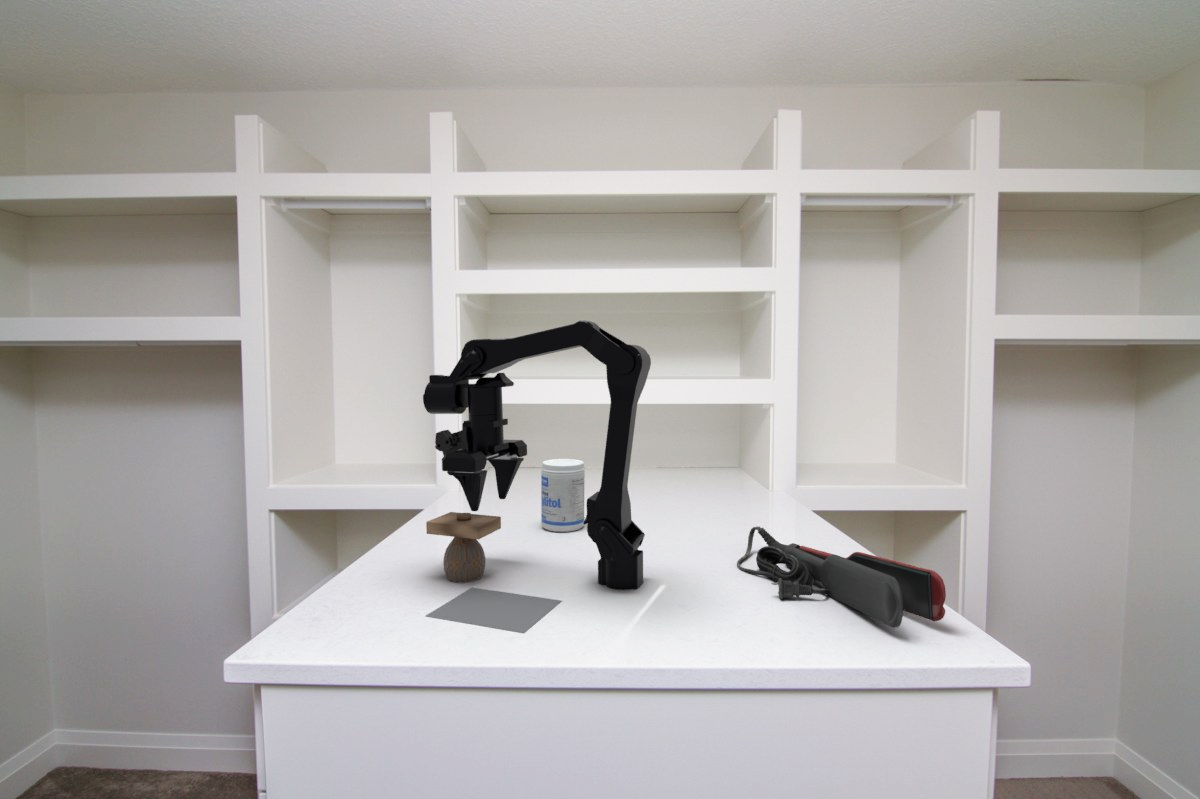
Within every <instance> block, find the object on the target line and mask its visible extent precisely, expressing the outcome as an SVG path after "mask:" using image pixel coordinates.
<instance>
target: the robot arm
mask: <svg viewBox="0 0 1200 799" xmlns="http://www.w3.org/2000/svg"><path fill="white" fill-rule="evenodd" d="M577 348H584V350H586V351H587V352H588V353H589V354H590V355H592V356H593V358H595V359H596V360H598V361H599V362H600V363H602V364H603V365H605V366H606V367H605V368H606V370H605V371H606V383H607V388H608V392H609V398H610V406H609V415H608V423H607V433H606V439H605V440H606V441H605V450H604V456H603V466H602V474H601V481H600V482H601V483H600V484H601V485H600V488H599V491H596V492H595V493H593V494H592V495H591V496H589V497H588V498H587V499H586V517H585V518H584V525H587V526H586V531H587V535H588V537H589V538H590V539H591V541H592V542H593V543H595V545H596V548H597V550H598V553H599V556H600V559H598V560H597V584H599V585H601V586H605V587H607V588H609V589H611V590H615V591H616V590H618V591H627V590H628V591H629V590H638V589H640V587H641V586H642V585H643V584H644V550H639V548H640V547H641V546H642V545H643V542H644V538H645V535H646V534H645V533H644V531H643V530H642V529H641V528H640V527H639V526H638V525H637V524H636V523H635V522H634V521H633V520H632V509H631V508H632V505H631V504H632V503H631V499H630V494H629V489H628V482H629V474H630V467H631V461H632V460H631V458H632V450H633V442H634V434H635V428H636V427H635V426H636V420H637V419H636V418H637V408H638V404H639V403H638V402H639V400H640V397H641V394H642V393H643V391H644V388H645V385H646V382H647V379H648V377H649V372H650V369H651V365H652V362H651V361H652V360H651V355H650V354H649V353H648V351H647V350H646V349H645V348H644V347H642V346H640V345H637V344H629V343H628V344H627V343H626V342H624V341H623V340H622V339H620V338H617V337H616V336H614V335H613V334H611V333H610V332H608V331H606V330H605V329H603V328H601V327H600V326H599V325H598V324H597V323H595V322H594V321H590V320H579V321H577V322H575V323H572V324H568V325H563V326H559V327H558V326H557V327H555V328H554V327H553V328H551V329H545V330H542V331H537V332H532V333H530V334H524V335H521V336H516V337H512V338H509V337H508V338H482V339H478V338H477V339H471V340H469V341H467V342H466V343H465V344H464V346H463V348H462V350H461V354H460V355H461V356H460V358H459V360H458V361H457V363H456V365H455V366H454V368H453V369H452V371H451V373H450V374H449V375H444V374H431V375H429V376H428V378H429V379H428V380H429V382H428V383H427V384H426V386H425V389H424V393H423V395H422V401H423V402H422V403H423V406H424V408H425V410H426V412H427V413H428V414H430V415H431V414H432V415H433V414H434V415H435V414H436V415H450V414H451V415H456V414H459V415H461V414H463V413H465V411H467V408H468V420H467V419H466V420H463V422H462V424H461V425H462V429H461V430H459V431H456V432H453V433H452V432H451V431H450V430H449V429H445V430H441V431H438V432H436V433H435V441H434V443H435V449H436V450H437V451H439V452H442V458H441V471H442V472H446V473H447V474H448V476H453V477H454V478H455V479H456V480H457V481H458V482H459V484H460V486H461V487H462V490H463V493H464V495H465V498H466V500H467V503H468V505H469V508H470V511H472V512H478V511H479V508H480V505H481V501H482V497H483V492H484V488H485V483H486V478H487V474H488V470H486V469H485V468H486V466H487V463H488V462H489V463H490V464H491V466H492V467H493V468H494V470H495V480H496V481H495V482H496V488H497V494H498V499H500V500H505V499H506V498H507V496H508V494H509V491H510V488H511V486H512V483H513V481H514V479H515V476H516V475H517V472H518V470H519V468H520V466H521V465H522V462H524V457H527V455H528V445H527V443H526V442H525V441H524V440H523V439H504V426H507V425H508V422H509V419H508V418H504V416H503V413H504V412H503V410H504V409H503V389H502V388H507V387H508V388H509V387H513V386H514V385H515V382H514V381H512V380H511V379H510V378H508V376H507V375H506V374H505V372H501V371H503V370H505V369H508V368H510V367H512V366H514V365H516V364H517V363H519V362H521V361H524V360H526V359H527V360H528V359H532V358H535V357H540V356H545V355H549V354H554V353H558V352H562V351H567V350H573V349H577ZM496 373H497V374H496ZM488 374H496V375H495V376H494V377H493V376H492V377H491V376H490V377H488V376H487V377H485V376H486V375H488ZM470 380H471V381H472V380H476V382H475V383H470V382H469V381H470ZM487 461H488V462H487Z"/></svg>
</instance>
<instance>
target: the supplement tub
mask: <svg viewBox="0 0 1200 799" xmlns="http://www.w3.org/2000/svg"><path fill="white" fill-rule="evenodd" d="M585 469H586V468H585V462H584V461H583V460H580V459H573V458H553V459H547V460H544V461H543V462H542V463H541V479H540V480H541V484H540V485H541V486H540V487H541V488H540V489H541V492H540V493H541V497H540V499H541V502H540V503H541V505H540V506H541V509H540V510H541V512H540V513H541V516H540V517H541V519H540V520H541V522H540V523H541V526H542V528H543V529H545V530H546V531H551V532H559V533H567V532H574V531H578V530H580V529H582V528H583V527H584V525H585V524H584V521H585V477H586V476H585Z"/></svg>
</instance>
